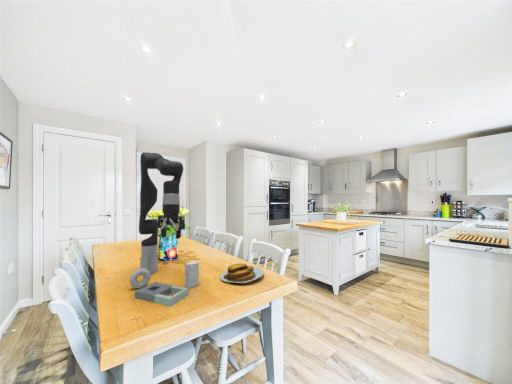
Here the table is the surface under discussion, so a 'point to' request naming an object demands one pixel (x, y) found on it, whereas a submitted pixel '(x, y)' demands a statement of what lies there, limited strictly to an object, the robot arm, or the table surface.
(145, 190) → the robot arm
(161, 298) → the frame
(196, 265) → the skincare box
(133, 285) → the donut
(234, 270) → the food on plate
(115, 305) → the table surface
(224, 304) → the table surface
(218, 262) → the table surface
